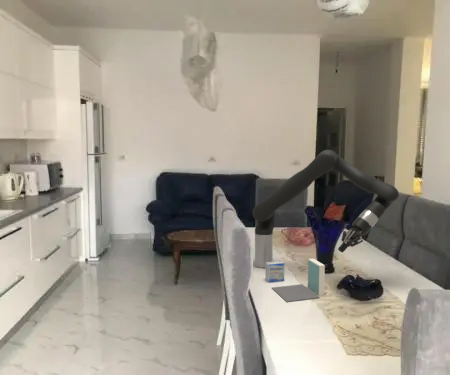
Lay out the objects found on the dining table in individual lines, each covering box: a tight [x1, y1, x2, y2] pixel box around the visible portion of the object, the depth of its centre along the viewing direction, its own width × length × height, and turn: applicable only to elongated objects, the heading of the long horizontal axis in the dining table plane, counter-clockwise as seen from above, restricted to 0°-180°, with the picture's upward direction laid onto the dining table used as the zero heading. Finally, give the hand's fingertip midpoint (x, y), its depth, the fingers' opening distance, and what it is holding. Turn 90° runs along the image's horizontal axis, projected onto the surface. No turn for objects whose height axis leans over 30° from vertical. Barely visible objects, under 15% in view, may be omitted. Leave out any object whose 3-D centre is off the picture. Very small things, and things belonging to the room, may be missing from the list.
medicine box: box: [264, 260, 285, 283], centre depth 194 cm, size 8×4×9 cm, turn 105°
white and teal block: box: [307, 258, 326, 296], centre depth 180 cm, size 10×3×13 cm, turn 16°
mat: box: [271, 283, 320, 303], centre depth 178 cm, size 16×15×1 cm
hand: (340, 251), depth 182 cm, fingers closed
